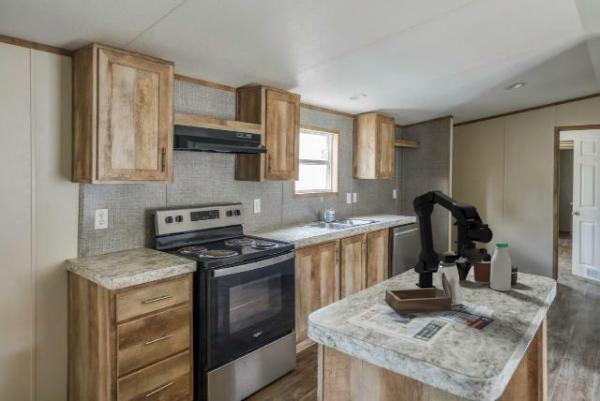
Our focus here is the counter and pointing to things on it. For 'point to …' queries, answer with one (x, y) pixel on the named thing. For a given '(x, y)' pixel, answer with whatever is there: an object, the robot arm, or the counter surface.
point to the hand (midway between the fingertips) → (463, 279)
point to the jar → (514, 274)
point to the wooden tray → (417, 301)
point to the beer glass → (450, 281)
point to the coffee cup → (482, 272)
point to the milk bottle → (501, 268)
